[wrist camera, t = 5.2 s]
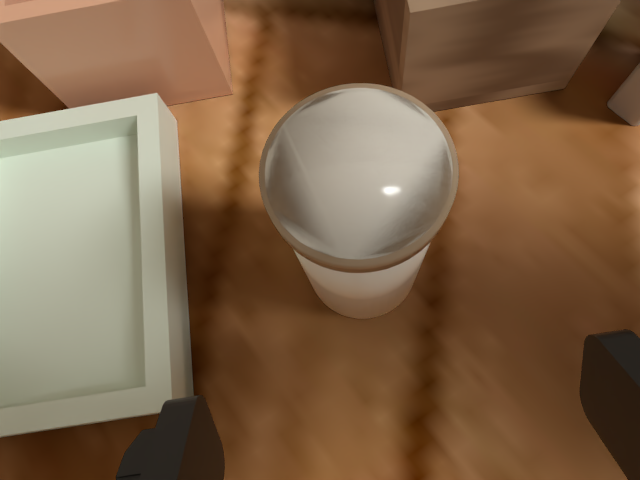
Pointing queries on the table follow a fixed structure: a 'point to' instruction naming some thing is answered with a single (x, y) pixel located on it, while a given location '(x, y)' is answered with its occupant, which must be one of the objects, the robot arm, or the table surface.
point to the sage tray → (91, 266)
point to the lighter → (628, 99)
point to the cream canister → (359, 192)
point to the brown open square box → (486, 46)
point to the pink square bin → (121, 48)
